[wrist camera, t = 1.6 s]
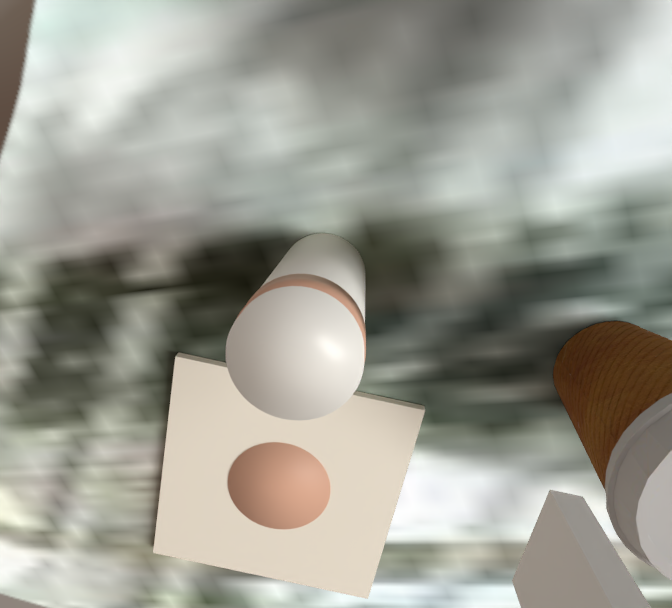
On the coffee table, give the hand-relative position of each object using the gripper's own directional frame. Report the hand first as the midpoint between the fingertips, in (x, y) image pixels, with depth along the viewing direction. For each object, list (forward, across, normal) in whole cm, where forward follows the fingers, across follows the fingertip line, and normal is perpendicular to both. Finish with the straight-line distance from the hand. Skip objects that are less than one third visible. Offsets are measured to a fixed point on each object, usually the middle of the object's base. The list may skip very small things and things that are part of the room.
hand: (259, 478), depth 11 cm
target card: (+18, 0, -15) cm, 24 cm away
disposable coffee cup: (+19, +18, -2) cm, 26 cm away
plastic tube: (+18, 0, 0) cm, 18 cm away
